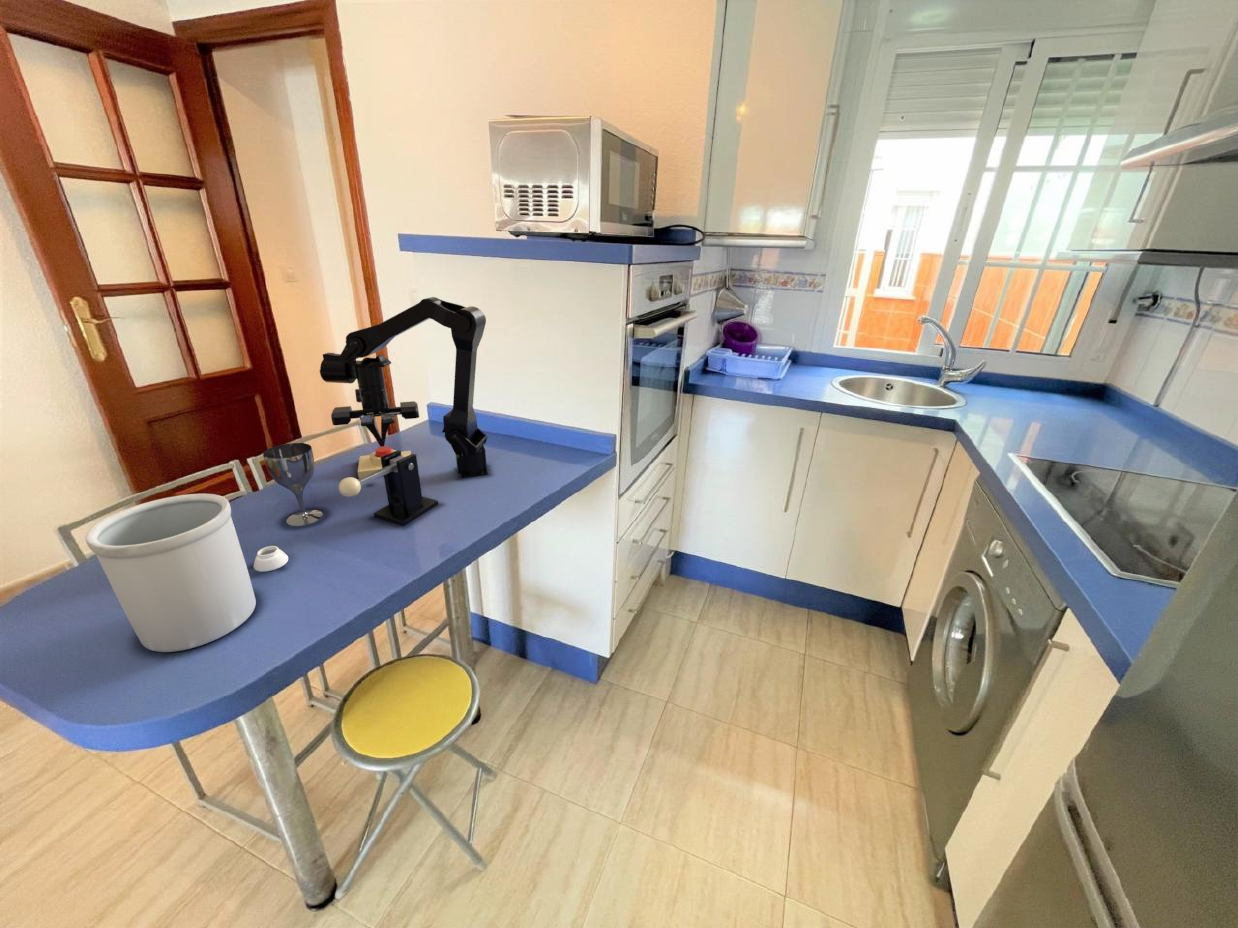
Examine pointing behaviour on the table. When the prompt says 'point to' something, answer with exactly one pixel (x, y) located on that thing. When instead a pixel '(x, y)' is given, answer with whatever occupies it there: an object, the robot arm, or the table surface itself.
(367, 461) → the button box
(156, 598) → the utensil holder
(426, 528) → the table surface
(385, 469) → the lever
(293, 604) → the table surface
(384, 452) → the button
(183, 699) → the table surface
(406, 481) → the bracket
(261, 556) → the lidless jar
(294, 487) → the wine glass
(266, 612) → the table surface
